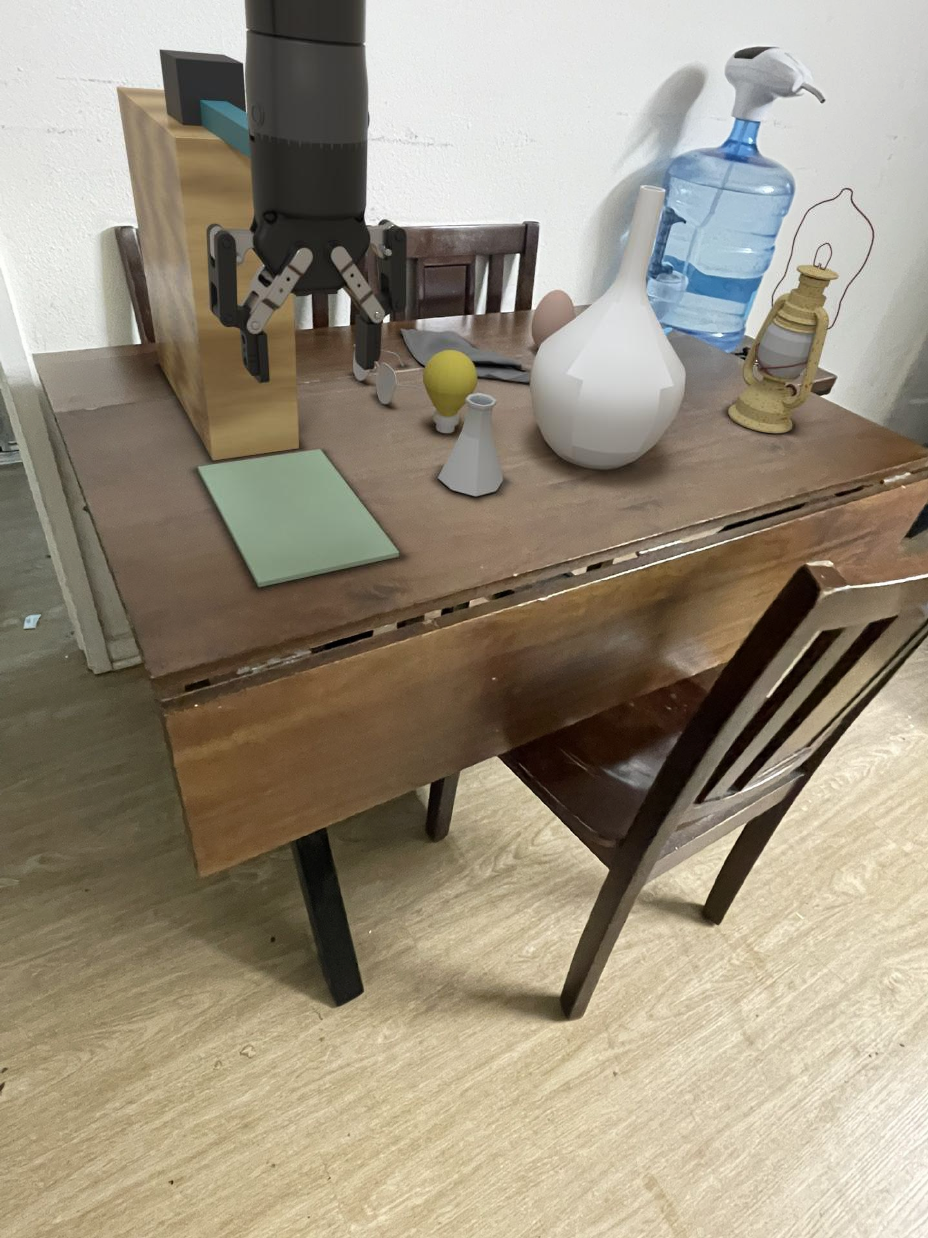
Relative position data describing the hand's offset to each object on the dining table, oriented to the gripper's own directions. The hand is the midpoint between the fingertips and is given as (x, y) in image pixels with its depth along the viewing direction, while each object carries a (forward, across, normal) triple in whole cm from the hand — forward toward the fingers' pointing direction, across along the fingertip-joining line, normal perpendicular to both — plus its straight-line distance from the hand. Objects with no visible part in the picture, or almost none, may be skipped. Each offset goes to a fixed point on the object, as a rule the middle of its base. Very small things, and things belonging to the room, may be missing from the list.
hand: (313, 372), depth 58 cm
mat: (+19, -2, -11) cm, 22 cm away
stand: (+19, -3, -37) cm, 42 cm away
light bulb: (+20, -26, -22) cm, 40 cm away
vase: (+20, -41, -11) cm, 47 cm away
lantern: (+20, -73, -10) cm, 76 cm away
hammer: (-12, -2, -22) cm, 25 cm away
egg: (+20, -56, -40) cm, 72 cm away
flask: (+20, -23, -10) cm, 32 cm away
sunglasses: (+20, -26, -36) cm, 48 cm away
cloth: (+20, -40, -42) cm, 61 cm away
